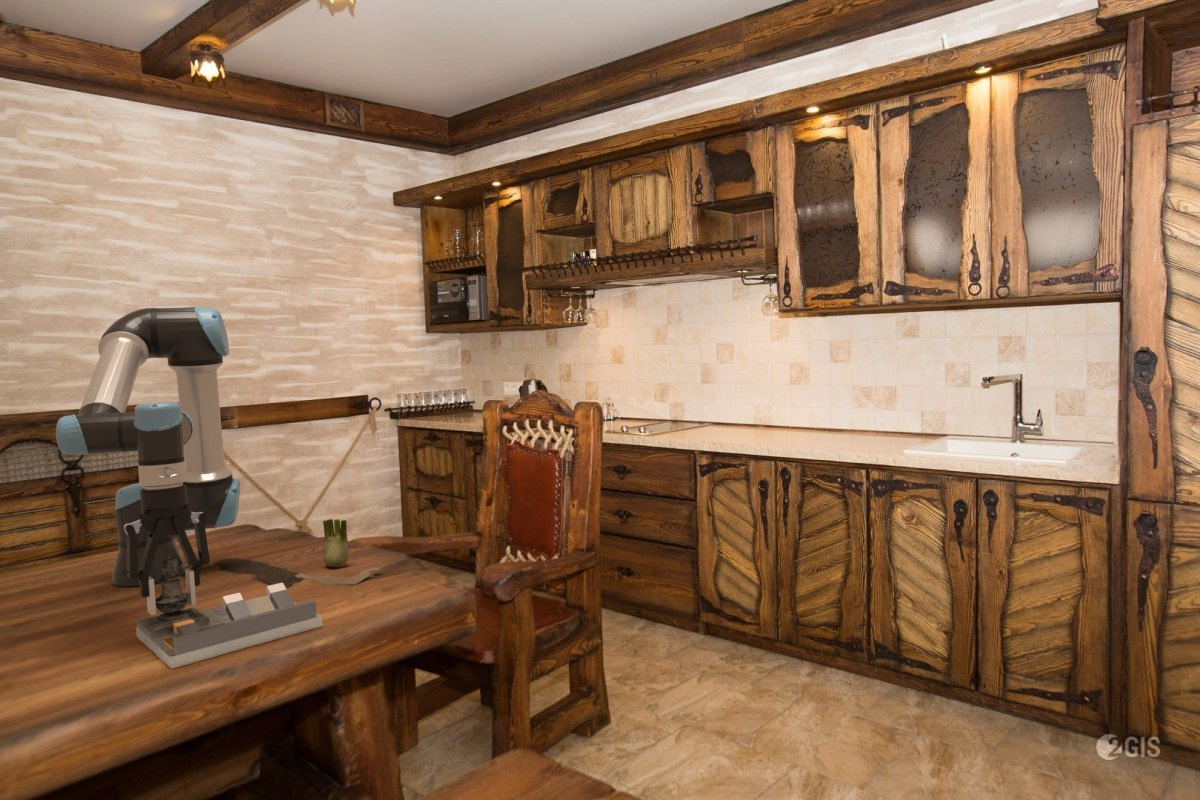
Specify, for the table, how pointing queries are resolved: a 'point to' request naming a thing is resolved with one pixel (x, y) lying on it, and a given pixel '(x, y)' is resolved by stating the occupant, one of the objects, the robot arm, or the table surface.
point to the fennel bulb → (335, 543)
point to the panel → (225, 630)
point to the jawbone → (341, 581)
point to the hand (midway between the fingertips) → (172, 608)
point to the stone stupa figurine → (171, 592)
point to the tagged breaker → (185, 626)
